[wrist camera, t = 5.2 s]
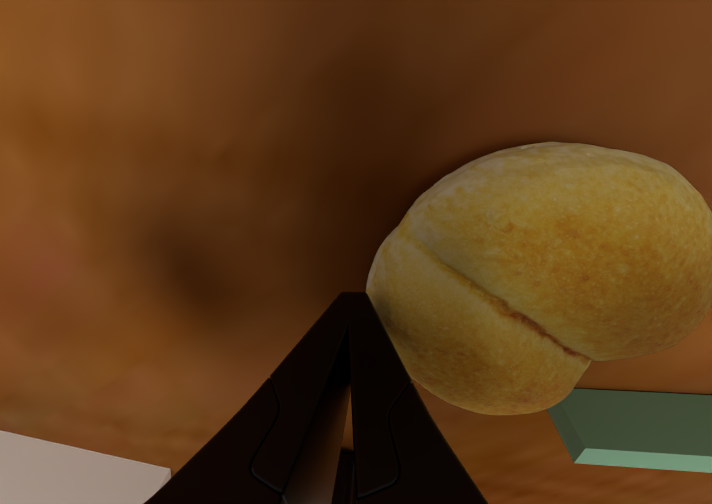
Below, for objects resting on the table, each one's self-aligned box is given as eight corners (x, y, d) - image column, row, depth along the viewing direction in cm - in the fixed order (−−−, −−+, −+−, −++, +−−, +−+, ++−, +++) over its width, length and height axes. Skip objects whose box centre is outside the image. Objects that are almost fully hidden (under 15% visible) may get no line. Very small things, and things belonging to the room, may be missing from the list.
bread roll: (702, 241, 9) (905, 341, 5) (477, 373, 13) (512, 478, 10) (535, 51, 7) (694, 20, 3) (329, 281, 11) (305, 374, 7)
